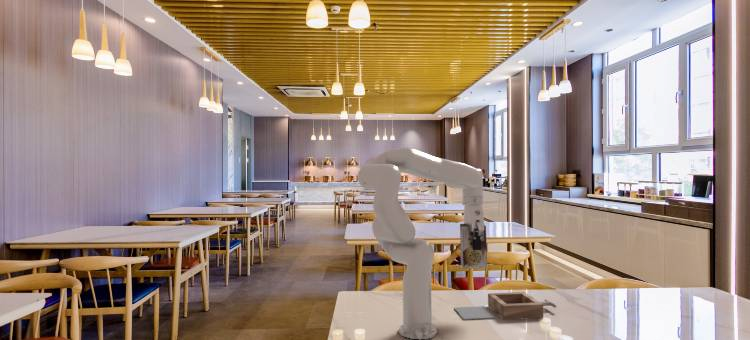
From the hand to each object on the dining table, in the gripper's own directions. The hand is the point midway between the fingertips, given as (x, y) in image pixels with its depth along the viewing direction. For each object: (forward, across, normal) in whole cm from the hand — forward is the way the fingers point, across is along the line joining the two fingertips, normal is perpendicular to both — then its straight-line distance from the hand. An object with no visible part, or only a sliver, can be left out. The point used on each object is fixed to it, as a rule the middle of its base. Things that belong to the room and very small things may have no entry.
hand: (473, 247), depth 151 cm
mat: (+25, 0, 0) cm, 25 cm away
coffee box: (+7, 0, 0) cm, 7 cm away
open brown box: (+25, 0, -20) cm, 32 cm away
